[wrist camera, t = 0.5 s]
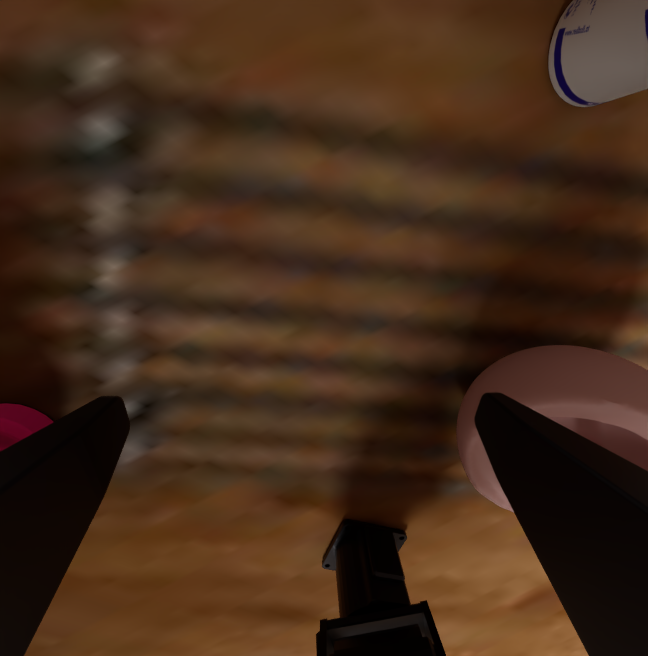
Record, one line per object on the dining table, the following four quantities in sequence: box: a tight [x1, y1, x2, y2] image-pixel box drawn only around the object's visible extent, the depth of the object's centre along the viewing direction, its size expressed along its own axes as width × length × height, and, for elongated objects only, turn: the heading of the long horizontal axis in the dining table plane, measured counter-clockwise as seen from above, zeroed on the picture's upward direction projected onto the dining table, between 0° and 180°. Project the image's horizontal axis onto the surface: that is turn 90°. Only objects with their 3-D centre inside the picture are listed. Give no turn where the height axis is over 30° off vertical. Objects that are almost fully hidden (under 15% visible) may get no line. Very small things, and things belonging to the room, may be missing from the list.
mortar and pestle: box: [456, 345, 648, 512], centre depth 20 cm, size 12×12×12 cm
